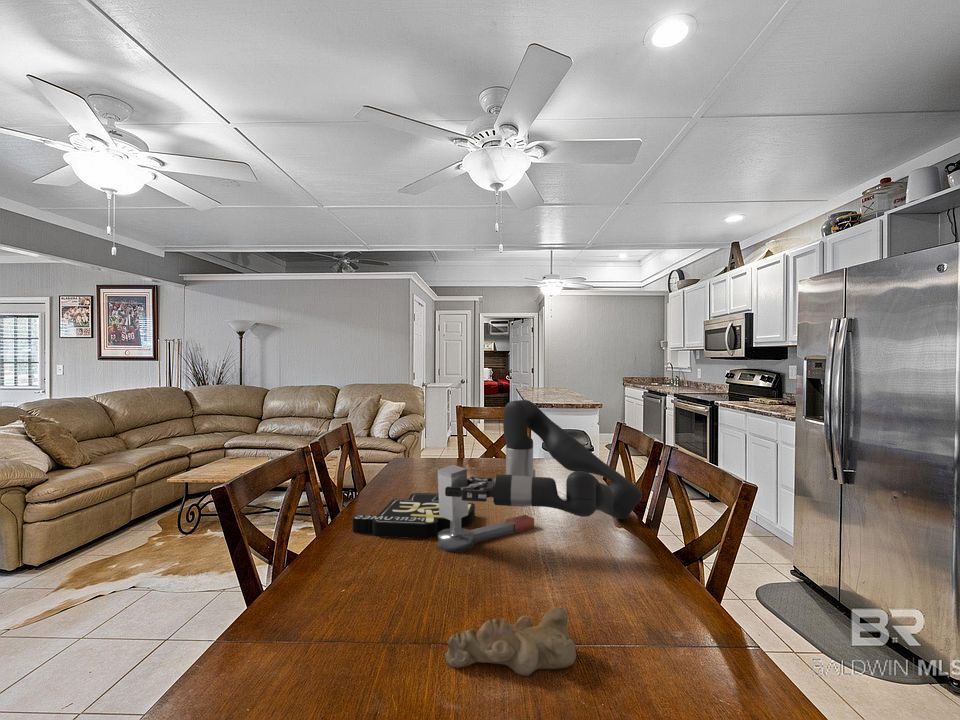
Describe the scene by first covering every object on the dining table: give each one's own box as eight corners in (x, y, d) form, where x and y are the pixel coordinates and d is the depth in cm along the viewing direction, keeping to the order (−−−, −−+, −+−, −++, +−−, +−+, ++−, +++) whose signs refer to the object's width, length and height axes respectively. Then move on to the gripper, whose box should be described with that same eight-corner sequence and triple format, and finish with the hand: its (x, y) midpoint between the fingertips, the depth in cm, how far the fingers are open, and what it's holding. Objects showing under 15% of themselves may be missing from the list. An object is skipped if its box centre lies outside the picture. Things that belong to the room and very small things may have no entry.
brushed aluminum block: (454, 509, 126) (452, 464, 125) (468, 514, 123) (466, 468, 122) (439, 515, 123) (437, 469, 122) (452, 521, 119) (451, 474, 118)
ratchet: (519, 521, 141) (519, 496, 141) (540, 530, 133) (540, 504, 133) (431, 543, 123) (431, 515, 123) (450, 554, 116) (450, 524, 116)
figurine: (582, 642, 70) (444, 642, 69) (579, 688, 71) (443, 689, 70) (565, 591, 82) (446, 591, 81) (562, 632, 83) (445, 632, 82)
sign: (347, 521, 129) (381, 491, 158) (347, 536, 129) (381, 504, 158) (466, 526, 125) (478, 494, 155) (466, 542, 125) (478, 507, 155)
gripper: (511, 514, 113) (442, 510, 115) (515, 497, 127) (453, 494, 129) (511, 482, 113) (442, 478, 115) (515, 469, 127) (454, 466, 129)
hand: (448, 487), depth 122 cm, fingers closed on brushed aluminum block, 7 cm apart
